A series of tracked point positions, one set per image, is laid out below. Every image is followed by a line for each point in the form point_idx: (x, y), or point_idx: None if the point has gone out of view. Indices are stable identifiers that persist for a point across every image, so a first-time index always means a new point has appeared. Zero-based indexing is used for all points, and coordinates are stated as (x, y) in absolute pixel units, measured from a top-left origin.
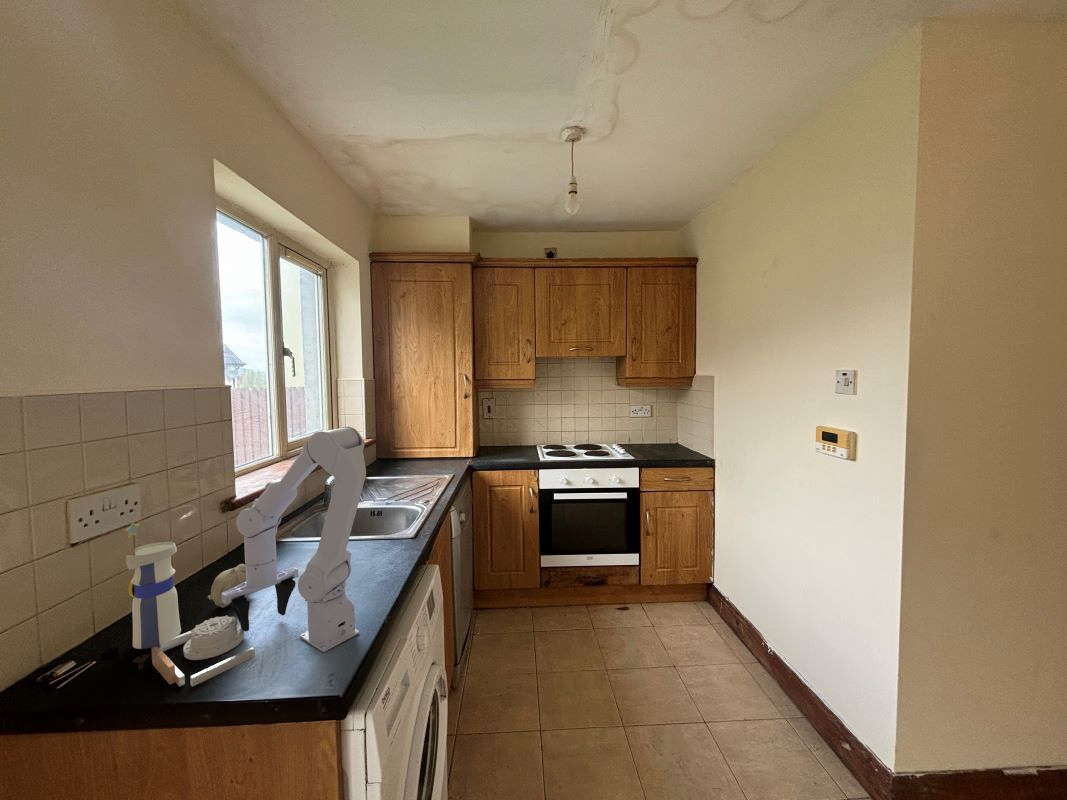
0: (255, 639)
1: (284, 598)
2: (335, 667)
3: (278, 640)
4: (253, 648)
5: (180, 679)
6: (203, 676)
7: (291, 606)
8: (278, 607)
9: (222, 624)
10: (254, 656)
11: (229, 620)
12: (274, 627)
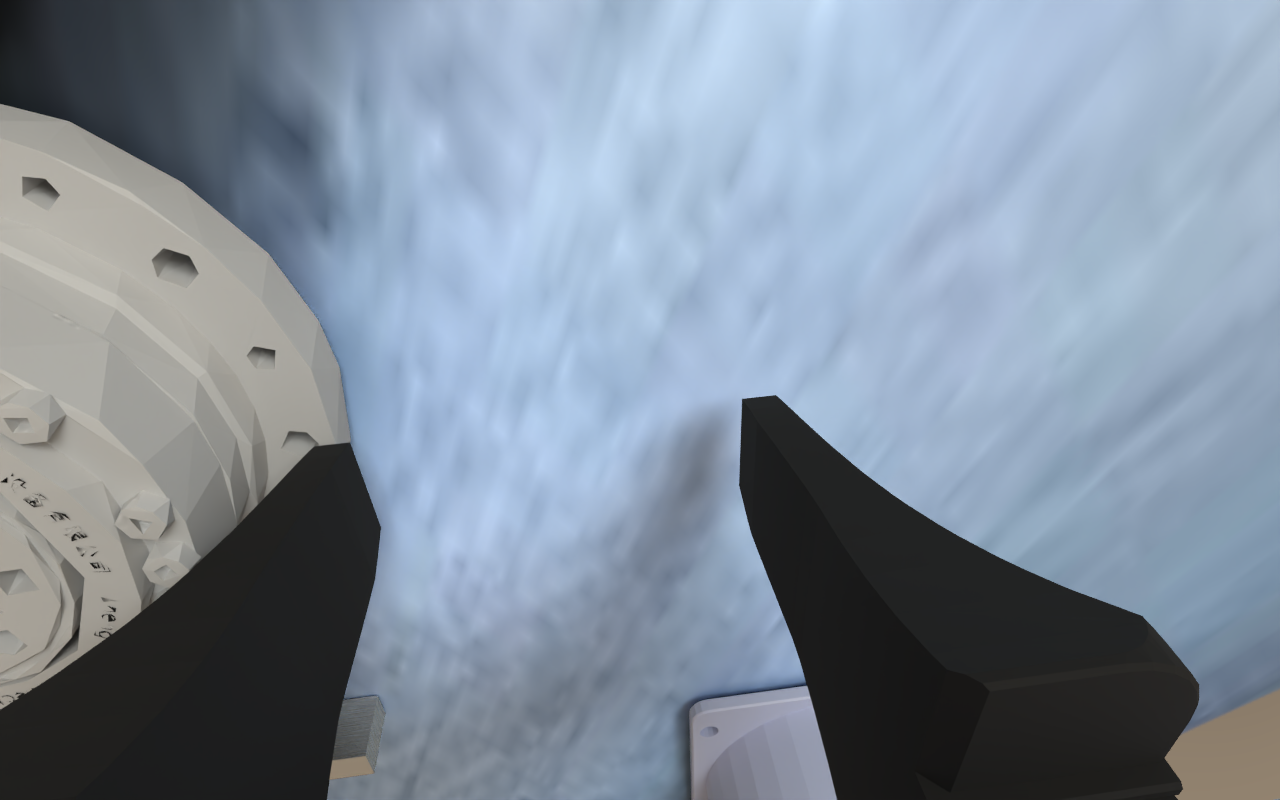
0: (435, 535)
1: (815, 700)
2: None
3: (574, 646)
4: (368, 769)
5: None
6: None
7: (992, 150)
8: (763, 458)
9: (8, 619)
10: (382, 714)
11: (98, 595)
12: (630, 465)
